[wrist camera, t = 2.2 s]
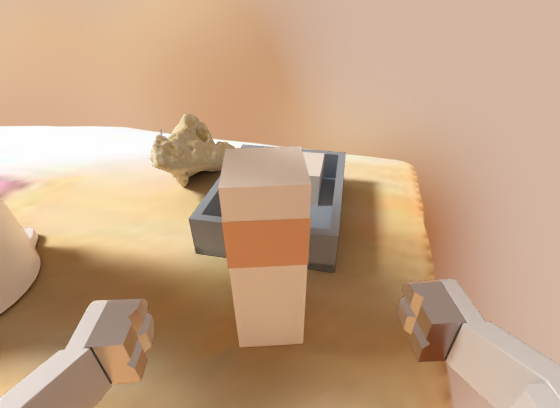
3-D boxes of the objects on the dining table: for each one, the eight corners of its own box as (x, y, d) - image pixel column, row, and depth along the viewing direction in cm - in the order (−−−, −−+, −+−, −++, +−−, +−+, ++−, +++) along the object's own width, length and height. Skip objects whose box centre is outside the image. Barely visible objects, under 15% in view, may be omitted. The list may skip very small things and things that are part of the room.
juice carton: (238, 348, 28) (217, 188, 19) (241, 296, 32) (224, 148, 24) (303, 344, 28) (312, 184, 19) (297, 293, 33) (301, 146, 24)
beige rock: (213, 159, 63) (137, 122, 53) (237, 135, 59) (160, 90, 50) (219, 223, 54) (129, 191, 44) (247, 199, 50) (156, 158, 41)
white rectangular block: (246, 198, 46) (244, 169, 43) (259, 174, 51) (257, 148, 49) (317, 205, 44) (319, 176, 41) (322, 180, 50) (324, 153, 47)
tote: (195, 253, 38) (188, 218, 35) (245, 172, 54) (242, 144, 51) (334, 272, 35) (338, 236, 32) (342, 181, 51) (345, 152, 48)
